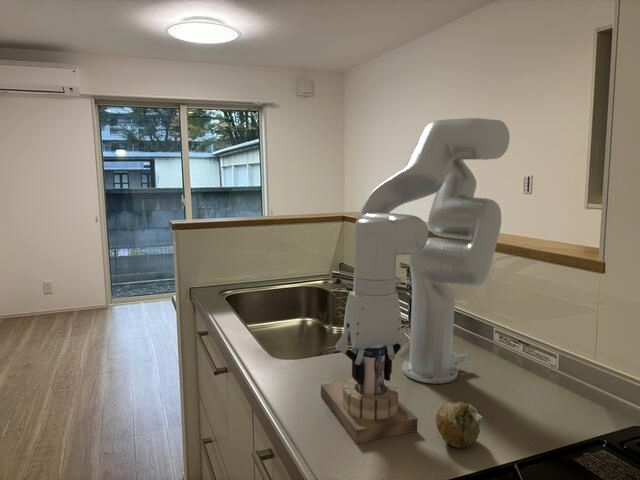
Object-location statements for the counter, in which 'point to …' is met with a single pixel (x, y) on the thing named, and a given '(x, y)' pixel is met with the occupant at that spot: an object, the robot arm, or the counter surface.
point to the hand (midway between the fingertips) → (371, 378)
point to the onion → (458, 423)
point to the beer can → (373, 371)
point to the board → (367, 425)
